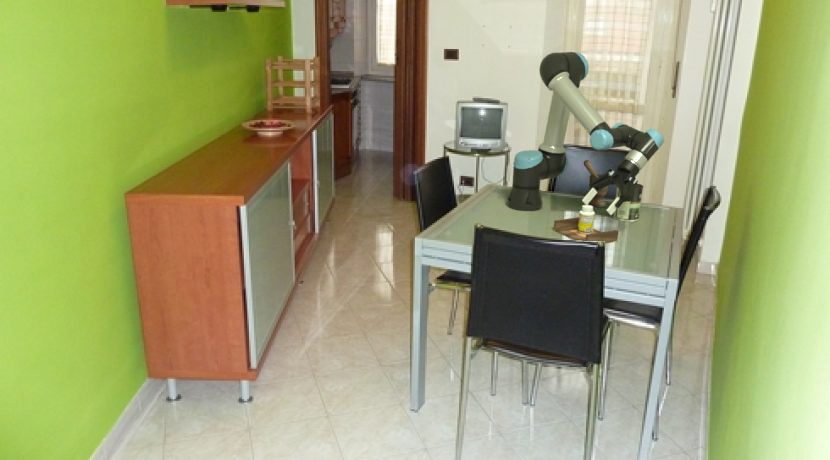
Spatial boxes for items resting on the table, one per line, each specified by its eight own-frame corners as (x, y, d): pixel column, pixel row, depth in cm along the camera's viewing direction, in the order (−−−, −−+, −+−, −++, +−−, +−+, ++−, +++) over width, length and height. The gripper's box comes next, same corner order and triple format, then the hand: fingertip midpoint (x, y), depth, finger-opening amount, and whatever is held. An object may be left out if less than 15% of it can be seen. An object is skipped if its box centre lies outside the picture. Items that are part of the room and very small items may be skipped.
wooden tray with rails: (553, 230, 255) (554, 220, 254) (582, 226, 261) (583, 216, 260) (587, 246, 239) (588, 235, 238) (617, 241, 245) (618, 231, 244)
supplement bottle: (581, 229, 254) (584, 203, 250) (595, 232, 250) (598, 206, 247) (574, 232, 249) (577, 206, 246) (588, 235, 246) (591, 209, 243)
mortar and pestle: (587, 208, 285) (592, 163, 278) (576, 203, 292) (581, 158, 286) (610, 207, 288) (616, 162, 282) (599, 201, 296) (604, 157, 290)
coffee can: (637, 215, 277) (641, 182, 273) (640, 222, 267) (644, 189, 263) (611, 213, 279) (615, 181, 274) (613, 220, 269) (617, 187, 265)
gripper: (661, 179, 240) (624, 223, 239) (613, 164, 261) (579, 204, 260) (652, 165, 236) (614, 211, 235) (604, 151, 257) (569, 193, 256)
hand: (596, 207), depth 247 cm, fingers open, 13 cm apart
